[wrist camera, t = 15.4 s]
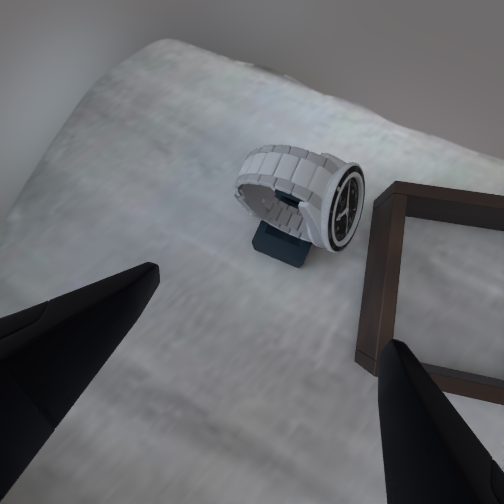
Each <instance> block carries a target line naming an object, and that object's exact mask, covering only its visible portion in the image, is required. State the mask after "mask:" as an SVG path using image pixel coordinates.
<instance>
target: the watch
mask: <svg viewBox="0 0 504 504" xmlns="http://www.w3.org/2000/svg"><path fill="white" fill-rule="evenodd" d="M308 153H309V155H308ZM307 156H308V157H307ZM306 158H307V159H306ZM297 165H298V166H297ZM296 167H297V168H296ZM292 176H293V177H292ZM291 178H292V179H291ZM274 187H275V188H276V190H275V192H274V191H273V190H272V189H271V188H274ZM233 189H234V196H235V198H236V199H237V200H238V201H239V202H240V204H241V205H242V206H243V207H244V208H245V209H246V210H248V211H249V212H250V213H251V215H252V216H253V217H256V218H257V219H258V220H261V223H260V225H259V227H258V229H257V231H256V233H255V236H254V238H253V240H252V244H253V247H254V249H255V250H257V251H259V252H262V253H264V254H266V255H269V256H271V257H273V258H276V259H278V260H280V261H283V262H285V263H287V264H290V265H292V266H294V267H297V268H300V267H301V266H302V265H303V263H304V261H305V258H306V256H307V254H308V251H309V249H310V247H311V244H312V243H313V244H314V245H315V246H317V247H319V248H322V249H326V250H328V251H330V252H333V253H339V252H341V251H343V250H344V249H345V248H346V247H347V245H348V244H349V242H350V241H351V239H352V237H353V235H354V233H355V231H356V229H357V226H358V223H359V220H360V217H361V213H362V209H363V203H364V195H365V181H364V175H363V171H362V169H361V167H360V165H359V164H357V163H355V162H354V163H353V162H350V163H346V162H344V161H342V160H341V159H339V158H337V157H335V156H333V155H331V154H328V153H321V155H319V154H316V153H313V152H309V151H308V150H305V149H302V148H298V147H291V146H288V145H265V146H262V147H259V148H256V149H254V150H253V151H251V152H250V153H249V154H248V156H247V158H246V160H245V162H244V164H243V166H242V168H241V170H240V172H239V174H238V177H237V179H236V181H235V183H234V185H233Z"/></svg>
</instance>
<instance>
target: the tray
mask: <svg viewBox="0 0 504 504" xmlns="http://www.w3.org/2000/svg"><path fill="white" fill-rule="evenodd" d="M405 216H410V217H416V218H423V219H429V220H436V221H442V222H449V223H455V224H462V225H468V226H475V227H481V228H488V229H494V230H501V231H504V196H501V195H494V194H487V193H480V192H472V191H465V190H458V189H451V188H444V187H437V186H430V185H422V184H415V183H408V182H401V181H395V182H393V183H392V184H391V185H390V186H389V187H388V188H387V189H386V190H385V191H384V192H383V193H382V194H381V195H380V196H379V197H378V198H377V199H375V200H374V206H373V215H372V223H371V232H370V240H369V248H368V256H367V264H366V272H365V280H364V289H363V297H362V305H361V313H360V321H359V329H358V337H357V345H356V353H355V362H356V363H358V364H359V365H360V366H362V367H363V368H364V369H366V370H367V371H368V372H369V373H371V374H372V375H373V376H376V377H378V371H379V354H380V352H381V350H382V349H383V348H384V346H385V345H386V344H387V343H388V341H389V340H390V339H393V333H394V323H395V314H396V304H397V294H398V284H399V274H400V264H401V254H402V244H403V234H404V224H405ZM421 365H422V366H423V367H424V369H425V370H426V371H427V372H428V374H429V375H430V376H431V378H432V379H433V380H434V382H435V383H436V384H437V386H438V387H439V388H440V390H441V391H443V392H447V393H452V394H456V395H461V396H465V397H470V398H474V399H479V400H483V401H488V402H492V403H496V404H501V405H504V380H500V379H495V378H491V377H486V376H481V375H476V374H472V373H467V372H462V371H458V370H453V369H448V368H444V367H439V366H434V365H430V364H425V363H421Z"/></svg>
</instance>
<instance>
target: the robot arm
mask: <svg viewBox="0 0 504 504" xmlns="http://www.w3.org/2000/svg"><path fill="white" fill-rule="evenodd" d="M159 283H160V273H159V266H158V265H157V264H154V263H151V262H146V263H144V264H141V265H138V266H136V267H133V268H131V269H128V270H126V271H123V272H120V273H118V274H115V275H113V276H110V277H108V278H105V279H103V280H100V281H97V282H95V283H92V284H90V285H87V286H85V287H82V288H80V289H77V290H74V291H72V292H69V293H67V294H64V295H62V296H59V297H56V298H54V299H51V300H50V301H46V302H43V303H41V304H38V305H36V306H33V307H30V308H28V309H25V310H22V311H20V312H17V313H14V314H11V315H8V316H5V317H2V318H0V502H1V501H2V499H3V498H4V497H5V495H6V494H7V493H8V491H9V490H10V489H11V487H12V486H13V485H14V483H15V482H16V481H17V479H18V478H19V477H20V475H21V474H22V473H23V471H24V470H25V469H26V467H27V466H28V465H29V463H30V462H31V461H32V459H33V458H34V457H35V455H36V454H37V453H38V451H39V450H40V449H41V447H42V446H43V445H44V444H45V442H46V441H47V440H48V438H49V437H50V436H51V434H52V433H53V432H54V430H55V429H54V428H56V427H57V426H58V425H59V423H60V422H61V421H62V419H63V418H64V417H65V415H66V414H67V413H68V411H69V410H70V409H71V407H72V406H73V405H74V403H75V402H76V401H77V399H78V398H79V397H80V395H81V394H82V393H83V391H84V390H85V389H86V387H87V386H88V385H89V383H90V382H91V381H92V380H93V378H94V377H95V376H96V374H97V373H98V372H99V370H100V369H101V368H102V366H103V365H104V364H105V362H106V361H107V360H108V358H109V357H110V356H111V354H112V353H113V352H114V350H115V349H116V348H117V346H118V345H119V344H120V342H121V341H122V340H123V338H124V337H125V336H126V334H127V333H128V332H129V330H130V329H131V328H132V326H133V325H134V324H135V322H136V321H137V320H138V318H139V317H140V315H141V314H142V312H143V310H144V309H145V307H146V305H147V304H148V302H149V300H150V299H151V297H152V295H153V294H154V292H155V290H156V289H157V287H158V285H159ZM378 406H379V417H380V428H381V439H382V450H383V461H384V472H385V483H386V493H387V504H504V472H503V471H502V469H501V468H500V467H499V465H498V464H497V463H496V462H495V461H494V460H492V456H491V455H490V454H489V452H488V451H487V450H486V449H485V447H484V446H483V445H482V443H481V442H480V441H479V439H478V438H477V437H476V435H475V434H474V433H473V431H472V430H471V429H470V428H469V426H468V425H467V424H466V422H465V421H464V420H463V418H462V417H461V416H460V414H459V413H458V412H457V410H456V409H455V408H454V407H453V405H452V404H451V403H450V401H449V400H448V399H447V397H446V396H445V395H444V393H443V392H442V391H441V390H440V388H439V387H438V386H437V384H436V383H435V382H434V380H433V379H432V378H431V376H430V375H429V374H428V372H427V371H426V370H425V369H424V367H423V366H422V365H421V363H420V362H419V361H418V359H417V358H416V357H415V355H414V354H413V353H412V351H411V350H410V349H409V348H408V346H407V345H406V344H405V343H404V342H402V341H399V340H396V339H390V340H389V341H388V343H387V344H386V345H385V346H384V348H383V349H382V350H381V352H380V354H379V371H378Z"/></svg>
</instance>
